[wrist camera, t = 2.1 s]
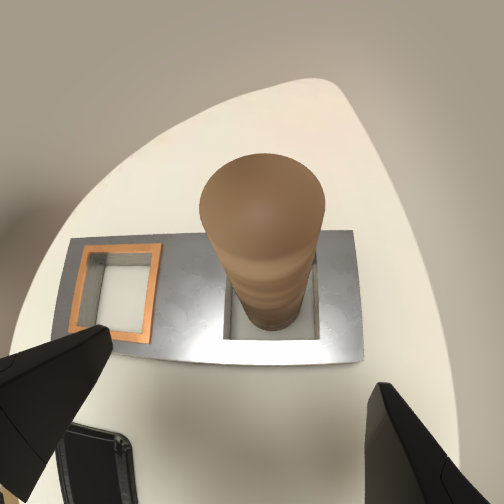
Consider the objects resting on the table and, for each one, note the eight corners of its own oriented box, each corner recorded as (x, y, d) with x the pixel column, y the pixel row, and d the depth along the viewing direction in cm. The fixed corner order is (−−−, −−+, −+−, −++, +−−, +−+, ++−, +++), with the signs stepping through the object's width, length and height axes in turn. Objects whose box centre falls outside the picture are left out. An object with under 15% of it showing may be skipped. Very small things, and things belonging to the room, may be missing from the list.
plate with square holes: (346, 245, 22) (353, 228, 20) (354, 363, 19) (365, 360, 16) (85, 250, 24) (69, 236, 22) (68, 345, 21) (48, 339, 18)
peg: (264, 341, 20) (240, 284, 8) (234, 296, 21) (179, 190, 10) (311, 310, 21) (351, 213, 9) (280, 267, 22) (276, 138, 10)
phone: (126, 436, 17) (149, 575, 11) (133, 434, 18) (153, 570, 12) (51, 417, 17) (75, 548, 11) (59, 417, 18) (81, 545, 12)
